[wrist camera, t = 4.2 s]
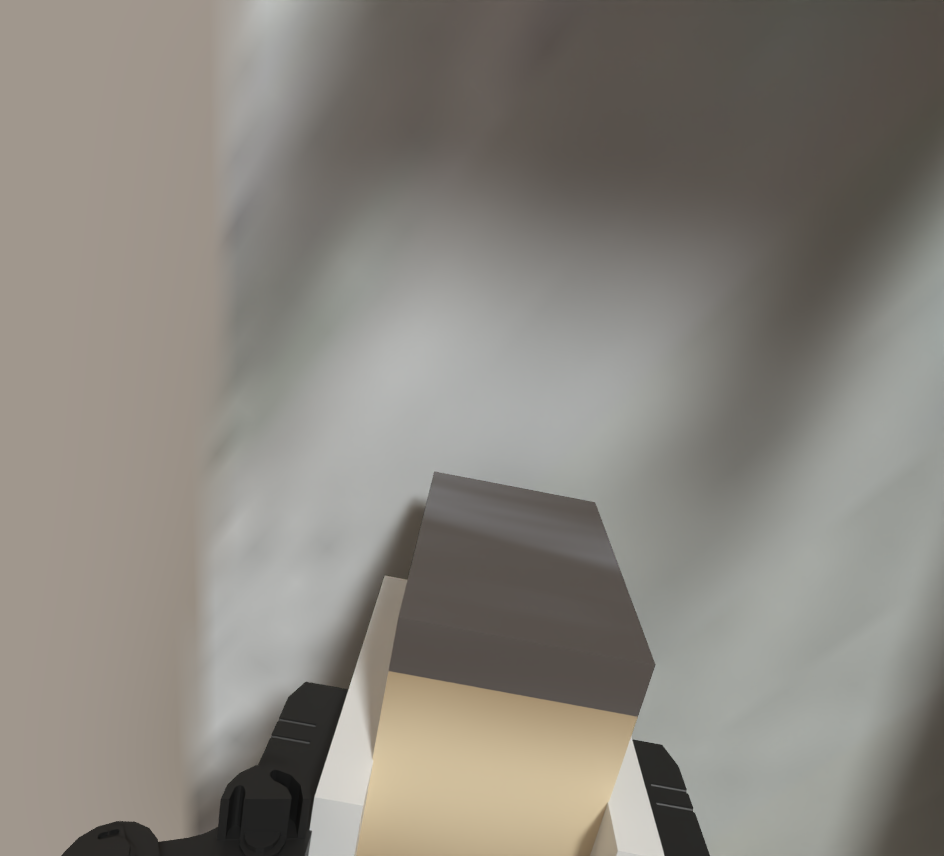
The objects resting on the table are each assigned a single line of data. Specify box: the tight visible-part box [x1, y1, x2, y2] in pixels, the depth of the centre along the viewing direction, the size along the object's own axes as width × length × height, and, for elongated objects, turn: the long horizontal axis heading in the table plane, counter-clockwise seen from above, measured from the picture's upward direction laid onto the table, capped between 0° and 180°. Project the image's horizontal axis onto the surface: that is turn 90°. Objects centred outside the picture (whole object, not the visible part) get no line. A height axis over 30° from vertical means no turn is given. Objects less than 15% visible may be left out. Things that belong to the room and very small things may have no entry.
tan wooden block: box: [356, 472, 655, 856], centre depth 14 cm, size 12×4×6 cm, turn 169°
